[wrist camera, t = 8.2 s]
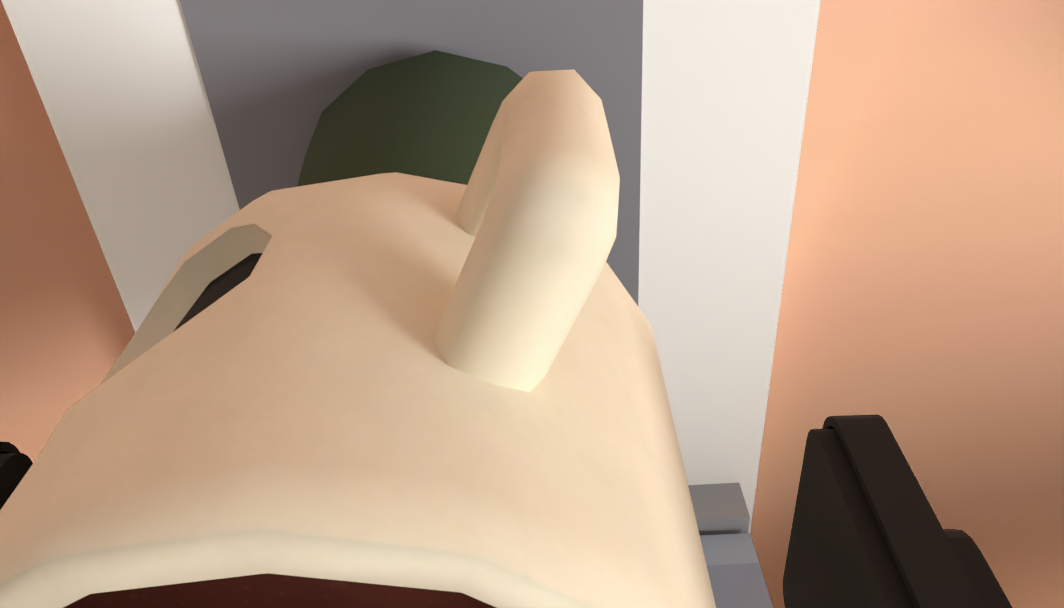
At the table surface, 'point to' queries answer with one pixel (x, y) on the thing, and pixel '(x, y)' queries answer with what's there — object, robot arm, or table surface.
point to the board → (496, 37)
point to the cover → (735, 571)
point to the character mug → (384, 384)
